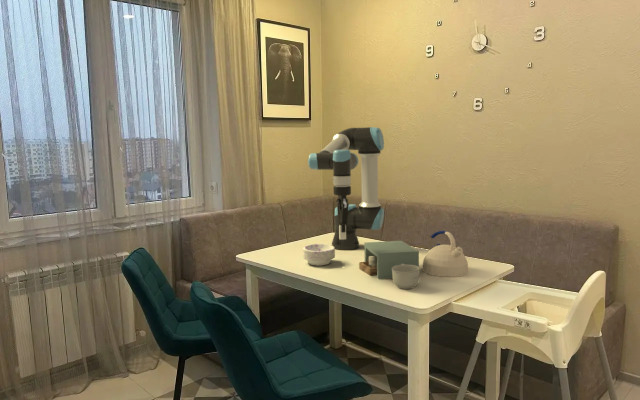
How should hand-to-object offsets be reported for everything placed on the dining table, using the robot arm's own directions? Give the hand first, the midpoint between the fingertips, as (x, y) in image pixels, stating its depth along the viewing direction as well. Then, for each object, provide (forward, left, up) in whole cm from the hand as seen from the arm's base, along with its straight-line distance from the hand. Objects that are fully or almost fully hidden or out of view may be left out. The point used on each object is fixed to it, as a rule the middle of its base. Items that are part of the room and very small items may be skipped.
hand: (342, 238), depth 210 cm
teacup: (+22, +21, -16) cm, 34 cm away
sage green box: (0, +22, -16) cm, 27 cm away
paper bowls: (-20, -7, -16) cm, 26 cm away
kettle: (+5, +46, -16) cm, 49 cm away
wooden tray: (-1, +18, -16) cm, 24 cm away
